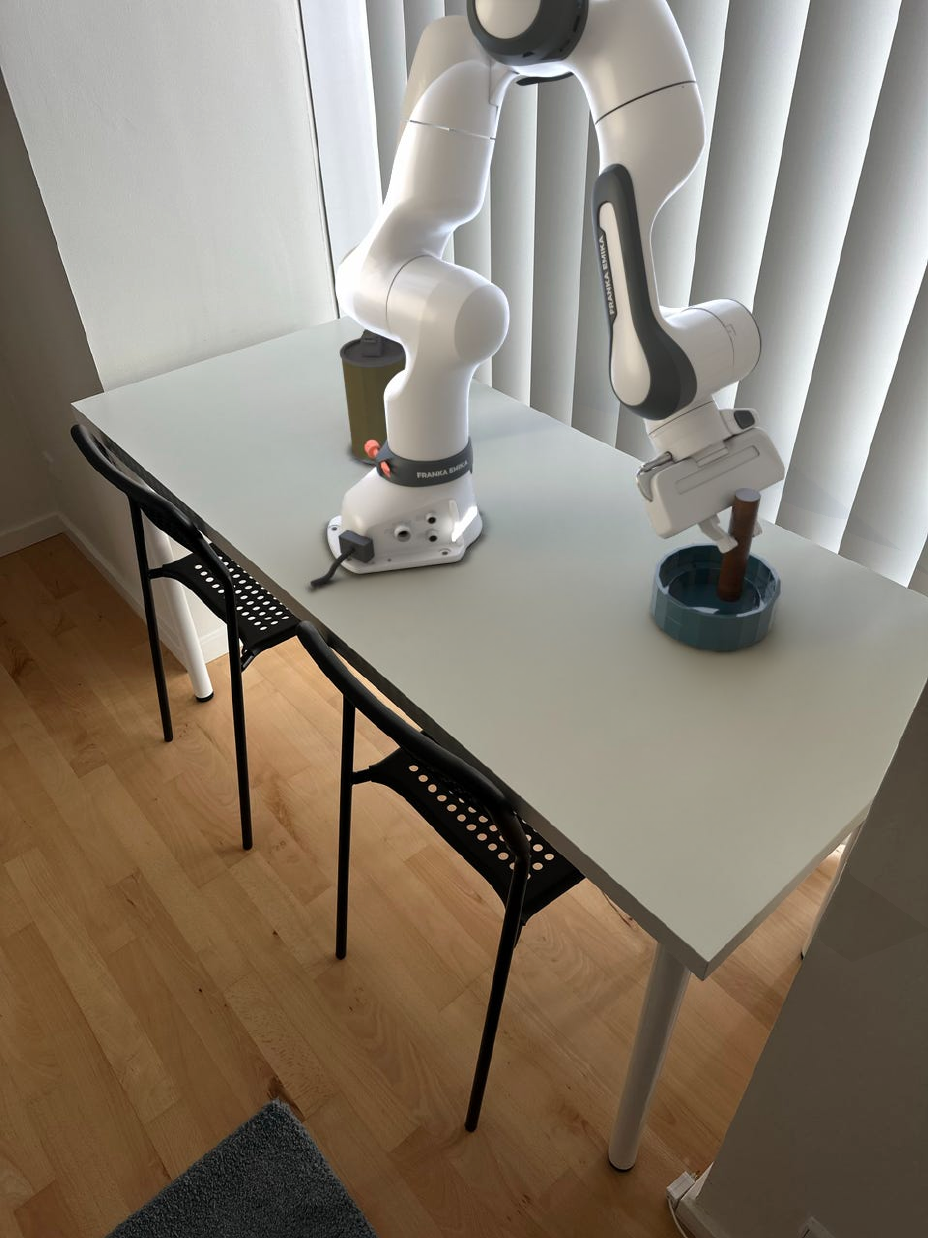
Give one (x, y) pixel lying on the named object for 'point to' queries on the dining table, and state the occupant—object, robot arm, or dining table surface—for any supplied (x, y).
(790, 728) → the dining table surface
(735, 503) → the stick
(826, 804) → the dining table surface
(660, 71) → the robot arm
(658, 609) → the bowl
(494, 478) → the dining table surface
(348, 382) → the canister
